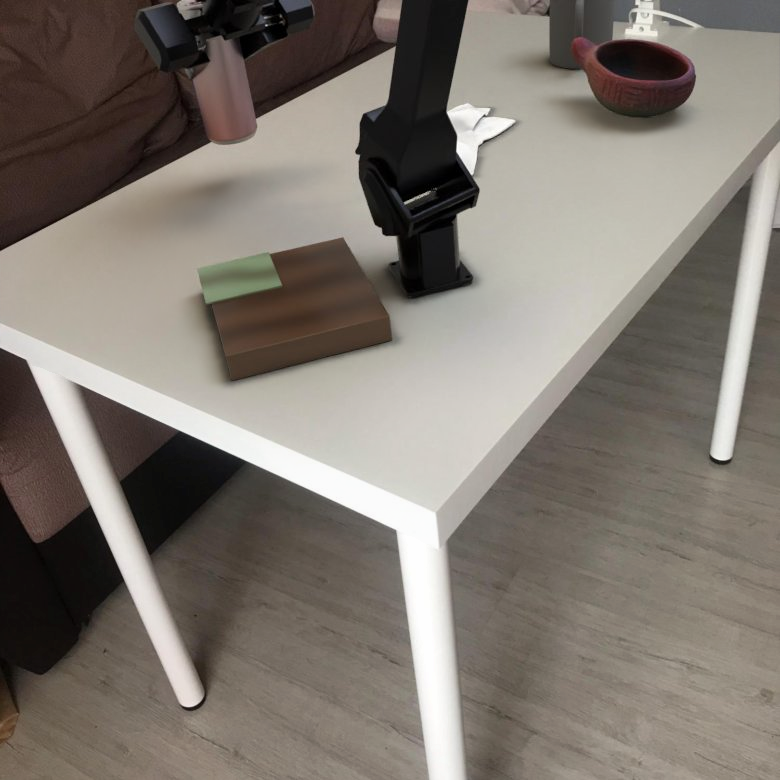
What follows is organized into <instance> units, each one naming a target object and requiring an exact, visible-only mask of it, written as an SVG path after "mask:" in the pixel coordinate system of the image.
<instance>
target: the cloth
mask: <svg viewBox="0 0 780 780" xmlns="http://www.w3.org/2000/svg"><path fill="white" fill-rule="evenodd" d="M490 112H491V108H489V107H475V106H473V105H471V104H470V103H469V102H467V103H464V104H460V105H457V106H455V107H454V108H452V109H449V110H447V114H448V116H449V118H450V120H451V123H452V125H453V127H454V129H455V131H456V133H457V150H456V152H457V153H458V155H459V156H460V158H461V160H462V161H463V163H464V164H465V166H466V168H467V169H468V171H469V172H470V174H471V176H472V177H473V176H474V172H475V168H476V165H477V160H478V159H477V158H478V151H479V146H481V145H482V144H483V143H484V142H486V141H488V140H491V139H493V138H494V137H496V136H498V135H500V134H502V133H503V132H505V131H506V130H508V129H509V128H510V127H511V126H512V125H514V124H515V123H516V120H515V119H511V118H505V117H498V116H488V115H489V113H490ZM434 190H435V191H436V190H437V189H436V188H435V189H434Z"/></svg>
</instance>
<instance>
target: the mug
mask: <svg viewBox="0 0 780 780" xmlns="http://www.w3.org/2000/svg"><path fill="white" fill-rule="evenodd" d="M615 1H616V0H549V28H548V29H549V32H548V33H549V34H548V36H549V42H548V44H549V60H550V63H551V64H552V65H554V66H556V67H558V68H562V69H573V70H574V69H575V70H576V69H578V70H580V69H582V68H581V67H580V65H579V64H578V63H577V62H576V60H575V59H574V57H573V55H572V51H571V45H572V42H573V40H574V39H576V38H579V37H583V38H586V39H588V40H589V41H591V42H593V43H594V44H596V45H600V44H602V43H605V42H608V41H612V40H613V39H614V37H613V36H614V22H615V21H614V20H615V19H614V18H615V3H616V2H615Z"/></svg>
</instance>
